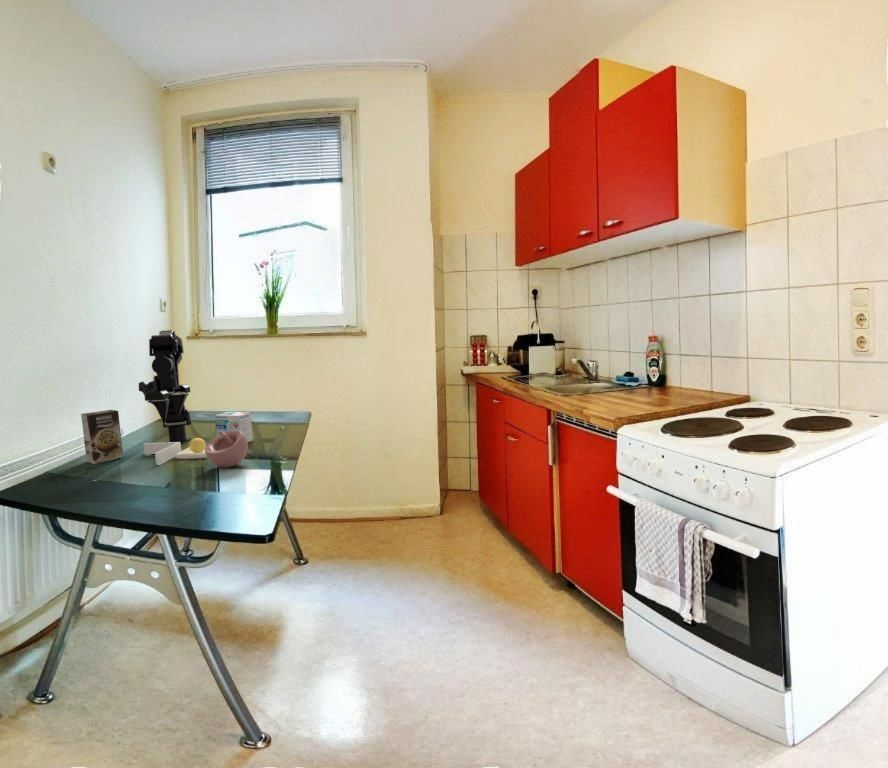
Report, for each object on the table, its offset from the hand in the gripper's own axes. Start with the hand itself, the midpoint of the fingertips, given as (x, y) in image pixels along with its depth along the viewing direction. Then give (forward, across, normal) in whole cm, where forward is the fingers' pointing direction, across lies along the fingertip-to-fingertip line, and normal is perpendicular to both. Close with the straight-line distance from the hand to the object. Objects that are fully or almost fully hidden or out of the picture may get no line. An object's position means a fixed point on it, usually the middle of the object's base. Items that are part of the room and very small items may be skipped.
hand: (171, 417), depth 179 cm
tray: (+12, +6, +11) cm, 17 cm away
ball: (+11, +6, +11) cm, 17 cm away
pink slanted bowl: (+12, +22, +28) cm, 38 cm away
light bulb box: (+12, -10, +17) cm, 23 cm away
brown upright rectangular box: (+12, +8, -19) cm, 24 cm away
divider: (+12, +11, -2) cm, 16 cm away
